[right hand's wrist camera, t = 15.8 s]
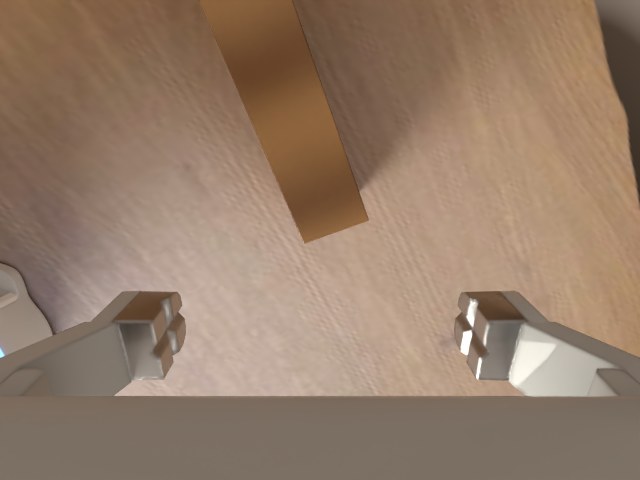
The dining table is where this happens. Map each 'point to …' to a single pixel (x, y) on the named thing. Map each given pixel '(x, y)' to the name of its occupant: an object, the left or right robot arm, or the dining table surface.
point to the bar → (288, 111)
